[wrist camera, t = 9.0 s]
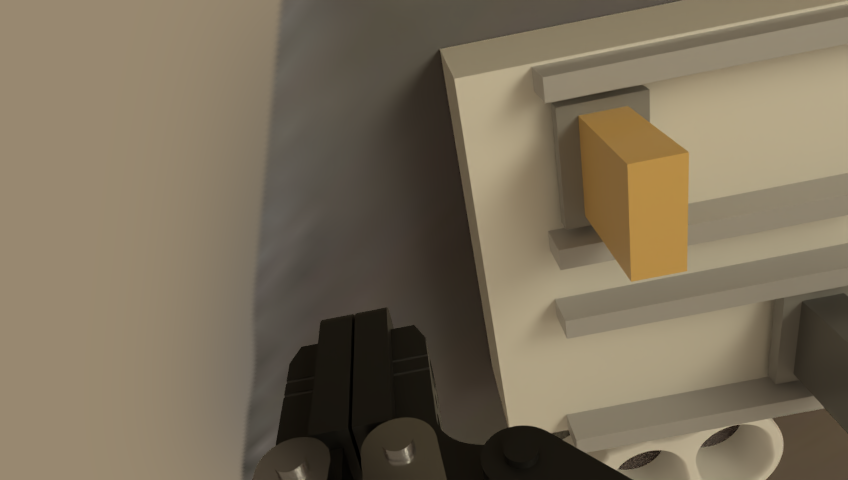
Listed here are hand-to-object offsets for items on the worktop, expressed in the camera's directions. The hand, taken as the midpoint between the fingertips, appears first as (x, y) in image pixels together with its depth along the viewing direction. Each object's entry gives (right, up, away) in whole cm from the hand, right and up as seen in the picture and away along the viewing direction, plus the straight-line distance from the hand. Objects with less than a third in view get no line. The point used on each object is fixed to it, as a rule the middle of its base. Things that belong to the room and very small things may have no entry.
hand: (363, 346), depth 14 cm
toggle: (+17, -1, +12) cm, 20 cm away
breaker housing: (+12, +5, +14) cm, 19 cm away
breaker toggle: (+7, +5, +8) cm, 12 cm away
